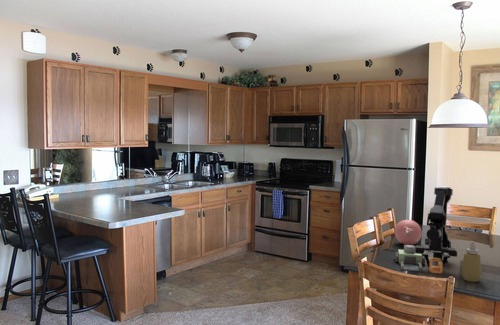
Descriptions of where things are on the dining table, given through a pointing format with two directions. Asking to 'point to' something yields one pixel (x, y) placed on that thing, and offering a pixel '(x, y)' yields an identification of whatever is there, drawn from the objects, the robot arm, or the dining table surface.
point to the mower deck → (409, 255)
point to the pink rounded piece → (408, 232)
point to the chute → (435, 268)
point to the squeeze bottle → (471, 264)
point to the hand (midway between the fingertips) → (434, 268)
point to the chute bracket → (411, 266)
